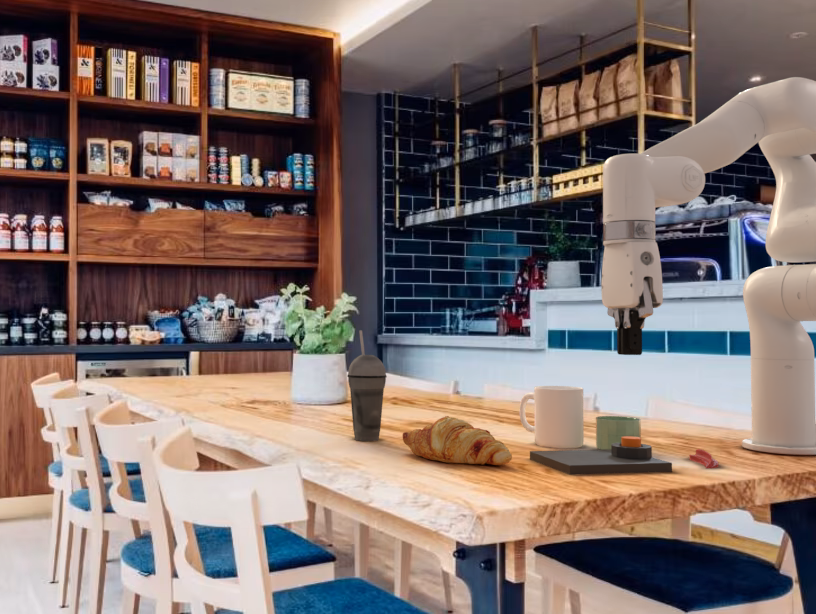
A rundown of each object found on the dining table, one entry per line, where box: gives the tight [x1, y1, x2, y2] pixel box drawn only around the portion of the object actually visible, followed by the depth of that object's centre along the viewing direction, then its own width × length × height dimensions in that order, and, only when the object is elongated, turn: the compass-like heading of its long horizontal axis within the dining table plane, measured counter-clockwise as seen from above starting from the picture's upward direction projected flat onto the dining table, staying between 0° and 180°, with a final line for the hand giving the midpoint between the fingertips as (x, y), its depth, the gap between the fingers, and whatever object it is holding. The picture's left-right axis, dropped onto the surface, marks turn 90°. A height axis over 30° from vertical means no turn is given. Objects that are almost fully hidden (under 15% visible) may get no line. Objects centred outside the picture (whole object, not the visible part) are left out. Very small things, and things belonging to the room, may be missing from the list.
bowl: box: [595, 415, 642, 450], centre depth 140 cm, size 7×7×6 cm
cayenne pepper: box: [688, 448, 719, 470], centre depth 129 cm, size 12×5×2 cm, turn 149°
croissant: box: [402, 415, 513, 466], centre depth 130 cm, size 21×10×8 cm, turn 42°
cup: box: [519, 385, 585, 449], centre depth 148 cm, size 8×12×10 cm
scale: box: [529, 443, 673, 476], centre depth 126 cm, size 16×13×3 cm
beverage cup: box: [347, 329, 387, 442], centre depth 153 cm, size 7×7×20 cm
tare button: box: [621, 436, 642, 447], centre depth 127 cm, size 3×3×2 cm
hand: (629, 354), depth 127 cm, fingers closed
